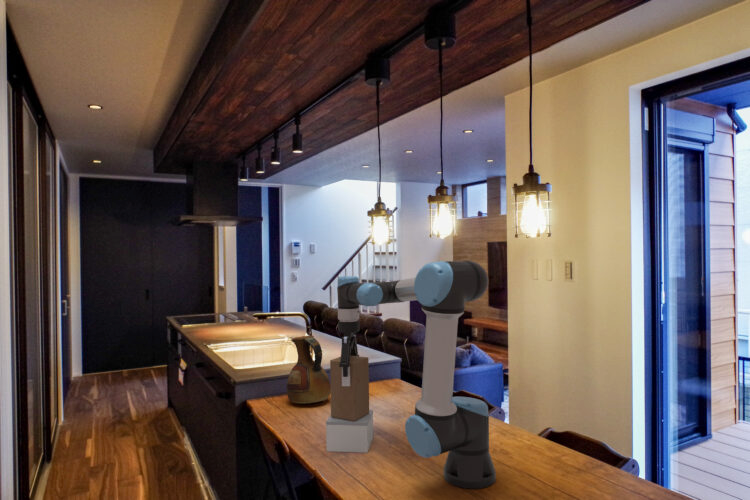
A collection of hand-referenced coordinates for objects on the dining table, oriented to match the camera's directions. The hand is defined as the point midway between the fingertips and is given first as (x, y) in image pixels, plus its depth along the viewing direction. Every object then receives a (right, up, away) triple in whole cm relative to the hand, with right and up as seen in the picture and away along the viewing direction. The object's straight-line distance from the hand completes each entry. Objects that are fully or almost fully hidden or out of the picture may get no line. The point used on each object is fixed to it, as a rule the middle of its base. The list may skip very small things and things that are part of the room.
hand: (349, 380), depth 177 cm
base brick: (0, -22, 0) cm, 22 cm away
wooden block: (0, -12, 0) cm, 12 cm away
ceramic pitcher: (-21, -23, +51) cm, 59 cm away
